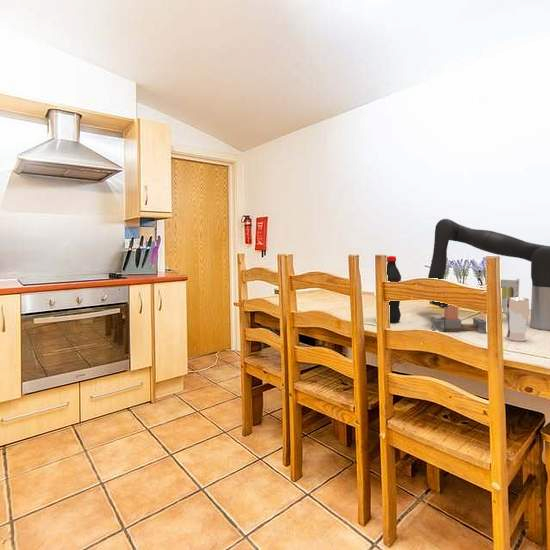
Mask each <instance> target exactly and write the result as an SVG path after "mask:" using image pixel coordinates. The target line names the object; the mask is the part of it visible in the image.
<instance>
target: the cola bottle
mask: <svg viewBox="0 0 550 550" xmlns="http://www.w3.org/2000/svg"><path fill="white" fill-rule="evenodd" d="M396 262H397V257H396V256H395V255H388V256H386V263H387V264H386V266H387V275H388V281H390V282H399V281H401V282H402V275H401V273H400V272H401V271H400V270H399V269H398V267H397V264H396ZM400 302H401V300H400V301H390V302H389V305H390V322H391V323H390V324H394V323H398V322H400V320H401V315H402V314H401V313H402V312H401V310H400Z"/></svg>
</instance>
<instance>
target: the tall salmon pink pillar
mask: <svg viewBox="0 0 550 550" xmlns="http://www.w3.org/2000/svg"><path fill="white" fill-rule="evenodd" d="M443 309H444V314H443V316H441V317H440V318H441V319H442V320H444V328H461V324H462V319H460V318H459V307H455V306H452V305H448V307H445V308H443Z"/></svg>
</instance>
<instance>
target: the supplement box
mask: <svg viewBox="0 0 550 550" xmlns="http://www.w3.org/2000/svg"><path fill="white" fill-rule="evenodd" d="M500 278H501V288H502V308H503V313H502V314H506V303H507V298H509V297H518V298H519V295H520V294H519V293H520V278H516V277H515V278H514V277H500Z"/></svg>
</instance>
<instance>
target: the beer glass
mask: <svg viewBox="0 0 550 550" xmlns="http://www.w3.org/2000/svg"><path fill="white" fill-rule="evenodd" d="M529 300H530V299H529V298H527V297H526V298H525V297H519V296H518V297H509V298H507V303H506V313H505V316H506V318H505V319H506V323H507V333H506V337H505V339H506V340H510V341H514V342H526V341H527V337H526V327H527V323H528V319H529V313H530V303H529V302H530V301H529Z"/></svg>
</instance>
